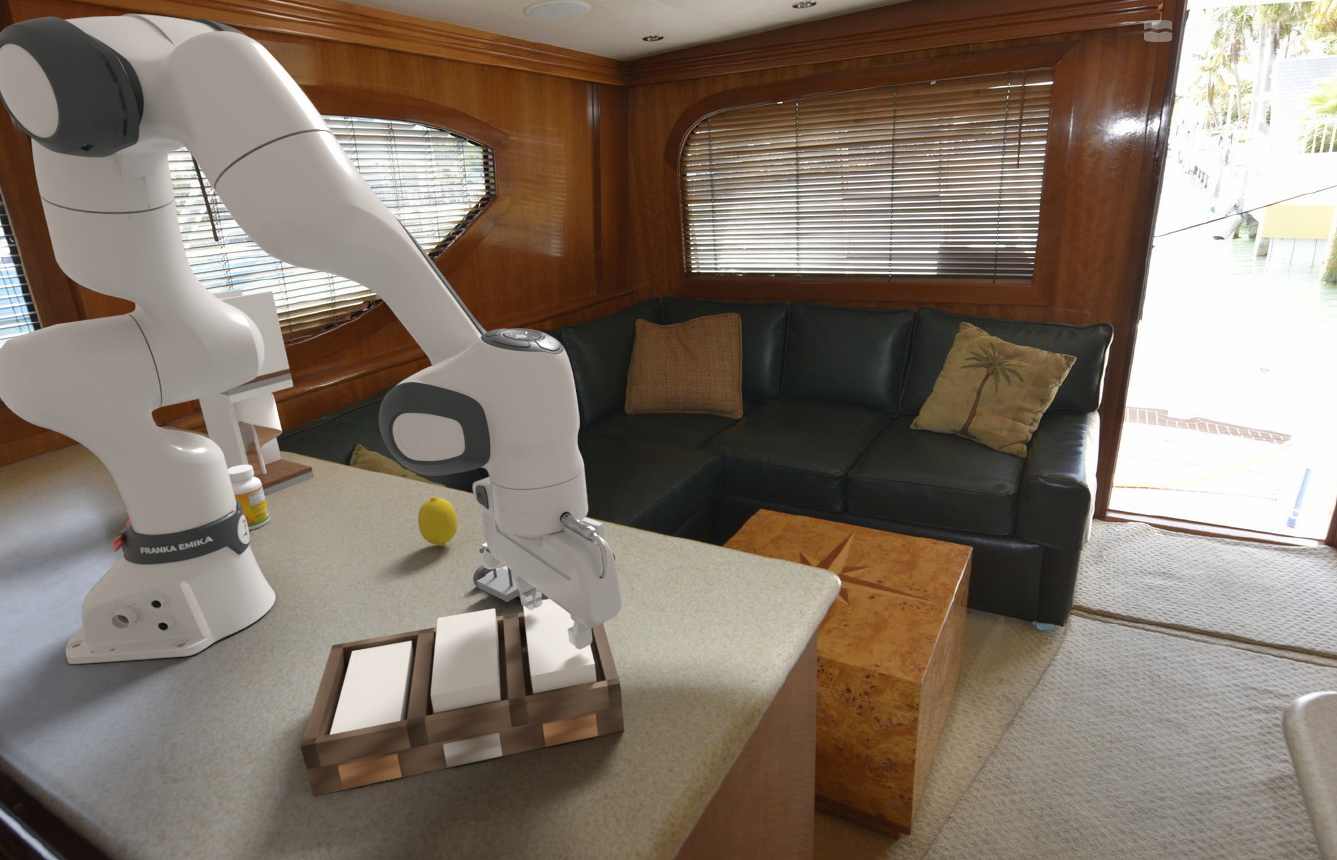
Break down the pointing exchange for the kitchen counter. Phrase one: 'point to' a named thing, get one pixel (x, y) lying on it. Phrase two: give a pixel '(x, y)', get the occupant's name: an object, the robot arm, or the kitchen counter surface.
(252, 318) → the white tiered stand
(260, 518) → the supplement bottle
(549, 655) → the switch
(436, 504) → the lemon
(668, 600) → the kitchen counter surface
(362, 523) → the kitchen counter surface
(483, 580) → the toy car
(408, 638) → the brown boxy piece
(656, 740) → the kitchen counter surface
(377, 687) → the switch
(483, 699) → the switch
